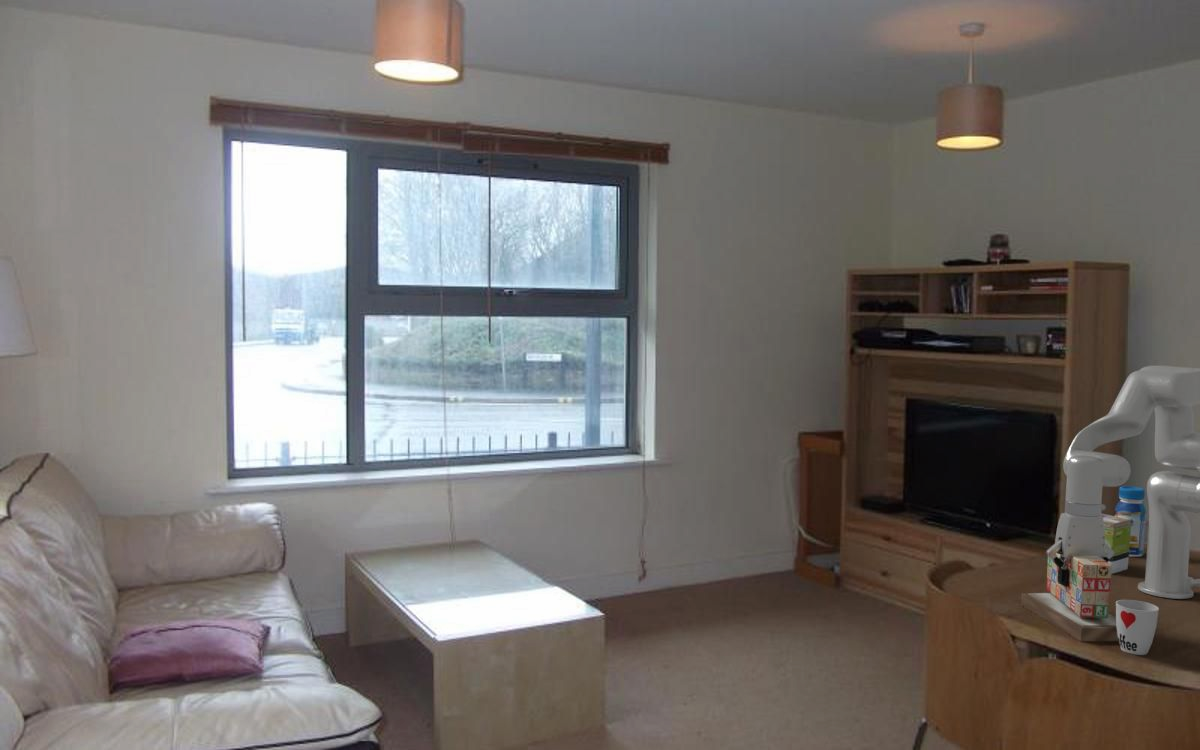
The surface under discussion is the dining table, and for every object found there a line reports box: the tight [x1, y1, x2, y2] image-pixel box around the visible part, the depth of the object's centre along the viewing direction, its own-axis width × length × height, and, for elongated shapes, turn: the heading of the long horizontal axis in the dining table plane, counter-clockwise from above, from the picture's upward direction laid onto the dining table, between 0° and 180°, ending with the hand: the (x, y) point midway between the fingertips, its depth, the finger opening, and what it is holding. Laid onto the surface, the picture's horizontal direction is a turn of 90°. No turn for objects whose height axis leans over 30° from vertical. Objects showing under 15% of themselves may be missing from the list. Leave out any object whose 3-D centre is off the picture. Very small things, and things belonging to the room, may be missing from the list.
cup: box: [1115, 599, 1160, 656], centre depth 215 cm, size 8×8×10 cm
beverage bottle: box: [1114, 485, 1147, 558], centre depth 300 cm, size 8×8×20 cm
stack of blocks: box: [1046, 553, 1112, 618], centre depth 234 cm, size 21×6×12 cm, turn 176°
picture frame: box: [1020, 592, 1119, 642], centre depth 234 cm, size 13×26×3 cm, turn 5°
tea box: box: [1101, 513, 1131, 575], centre depth 285 cm, size 15×10×15 cm
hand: (1078, 584), depth 234 cm, fingers closed on stack of blocks, 6 cm apart
